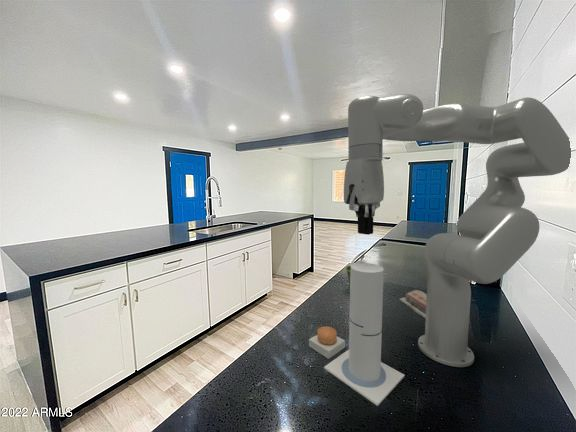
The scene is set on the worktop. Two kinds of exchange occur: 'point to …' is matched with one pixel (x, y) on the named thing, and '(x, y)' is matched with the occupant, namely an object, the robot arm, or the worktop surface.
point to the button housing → (327, 346)
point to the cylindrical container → (365, 321)
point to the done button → (327, 335)
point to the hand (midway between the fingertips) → (365, 233)
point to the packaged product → (416, 301)
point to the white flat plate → (369, 390)
